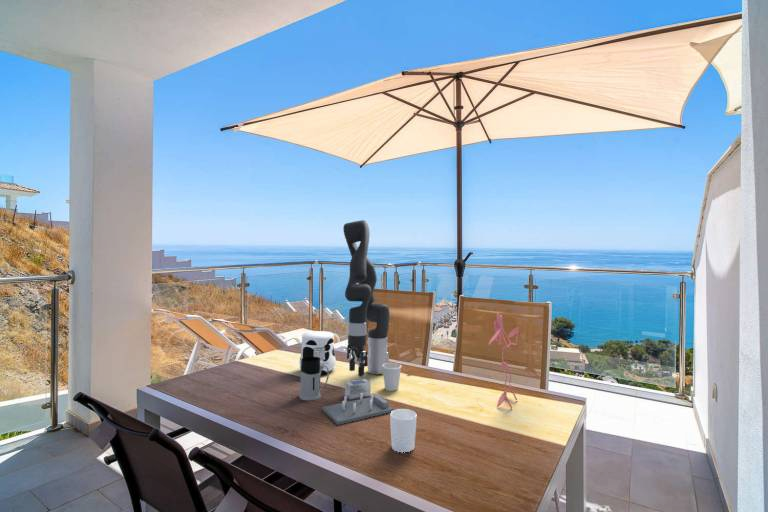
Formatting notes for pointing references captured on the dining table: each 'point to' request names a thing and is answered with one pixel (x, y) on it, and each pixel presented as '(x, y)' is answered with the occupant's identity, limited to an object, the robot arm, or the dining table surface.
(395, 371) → the dixie cup
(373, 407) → the grey tapered peg board
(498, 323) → the figurine
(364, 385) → the block
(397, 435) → the white cup
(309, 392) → the white and black mug
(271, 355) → the dining table surface
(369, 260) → the robot arm
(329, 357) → the milk container
